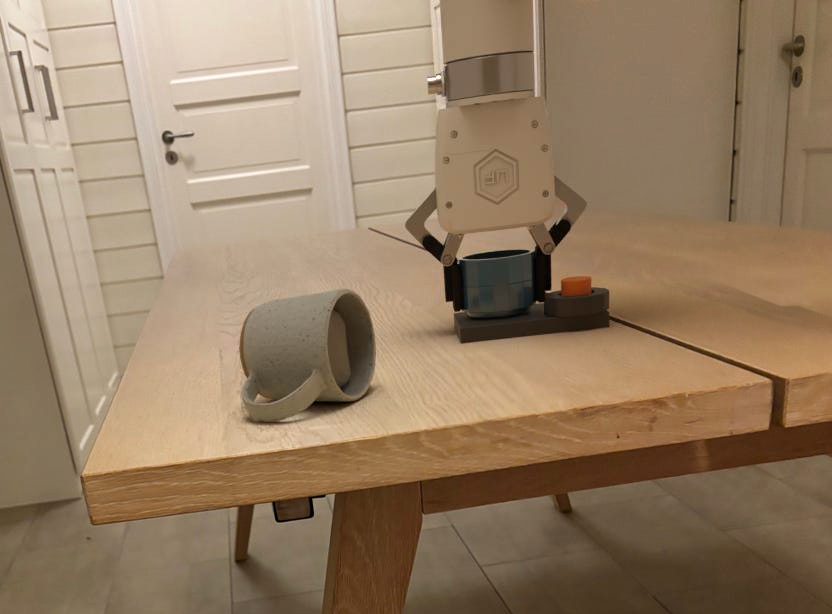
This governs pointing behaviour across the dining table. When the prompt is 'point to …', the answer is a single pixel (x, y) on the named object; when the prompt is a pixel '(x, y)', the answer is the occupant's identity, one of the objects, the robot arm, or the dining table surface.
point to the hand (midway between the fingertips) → (498, 303)
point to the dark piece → (540, 318)
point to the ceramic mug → (306, 353)
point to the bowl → (498, 282)
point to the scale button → (576, 286)
